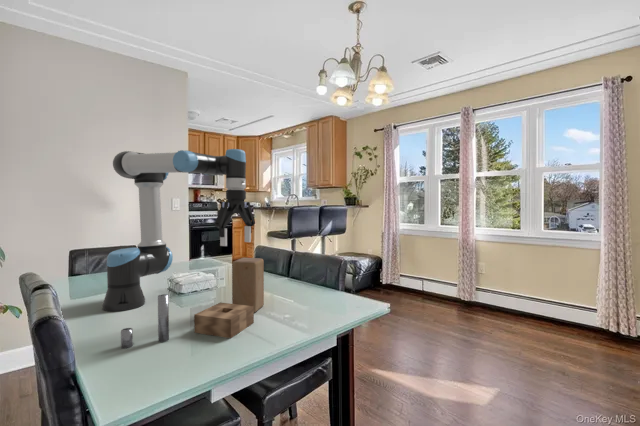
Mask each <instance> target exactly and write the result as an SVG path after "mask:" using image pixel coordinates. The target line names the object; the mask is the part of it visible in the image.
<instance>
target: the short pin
mask: <svg viewBox="0 0 640 426" xmlns="http://www.w3.org/2000/svg"><path fill="white" fill-rule="evenodd" d="M133 337H134V336H133V328H132V327H126V328H122V329H121V330H120V346H121V347H120V348H121V349H125V350H126V349H130V348H132V347H133V346H134V342H133V341H134V340H133Z"/></svg>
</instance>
